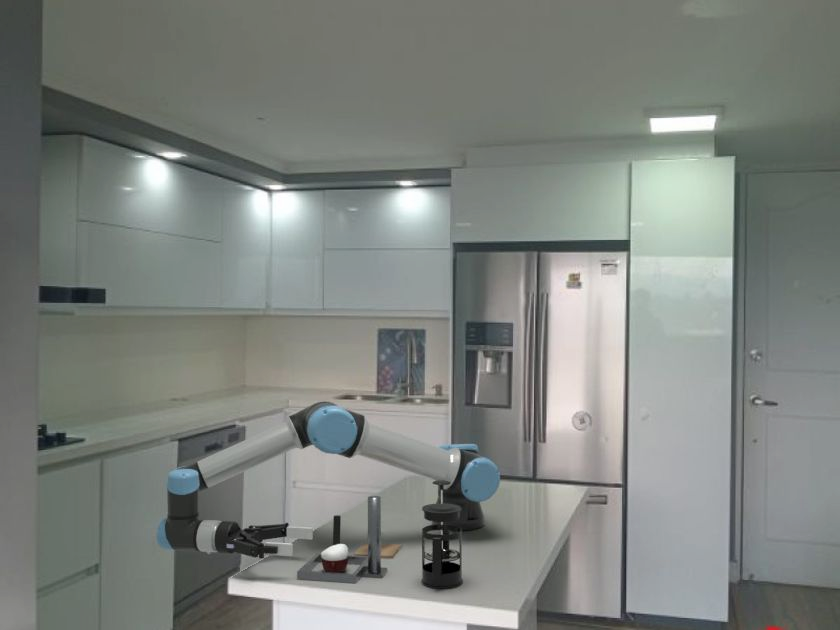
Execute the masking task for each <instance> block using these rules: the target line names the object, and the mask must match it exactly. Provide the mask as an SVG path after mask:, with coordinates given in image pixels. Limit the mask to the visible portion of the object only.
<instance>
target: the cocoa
mask: <svg viewBox="0 0 840 630" xmlns="http://www.w3.org/2000/svg"><path fill="white" fill-rule="evenodd" d="M341 521H342V519H341V515H340V514H339V515H334V516H333V523H332V525H333V527H332V528H333V530H332V531H333V532H332V538H333V539H332V545H331V546H329V547H327V548H325V549H324V550H323V551H321V557H322V562H321V564H322V568H323V570H324V572H336V573H345V572H344V571H345V570H347V567H348V565H349V564H348V556H347V555H349V547H348V546H347V545H346V544H345V543H341V523H342V522H341Z"/></svg>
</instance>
